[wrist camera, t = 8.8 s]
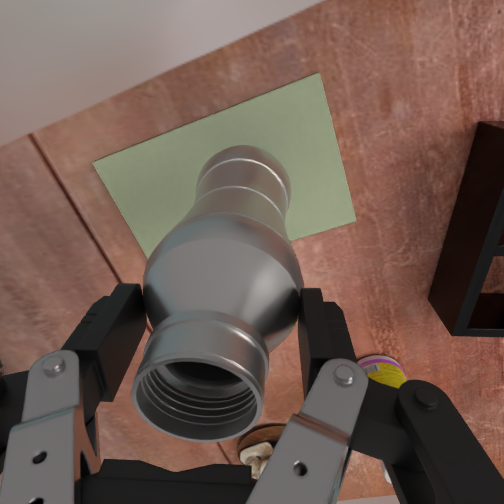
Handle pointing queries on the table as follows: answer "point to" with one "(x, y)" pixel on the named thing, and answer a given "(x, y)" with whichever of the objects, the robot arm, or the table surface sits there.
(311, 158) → the mat
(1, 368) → the teapot
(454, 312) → the bottle rack
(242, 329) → the silver water bottle
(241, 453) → the skull
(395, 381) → the supplement bottle
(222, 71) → the table surface
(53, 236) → the table surface
